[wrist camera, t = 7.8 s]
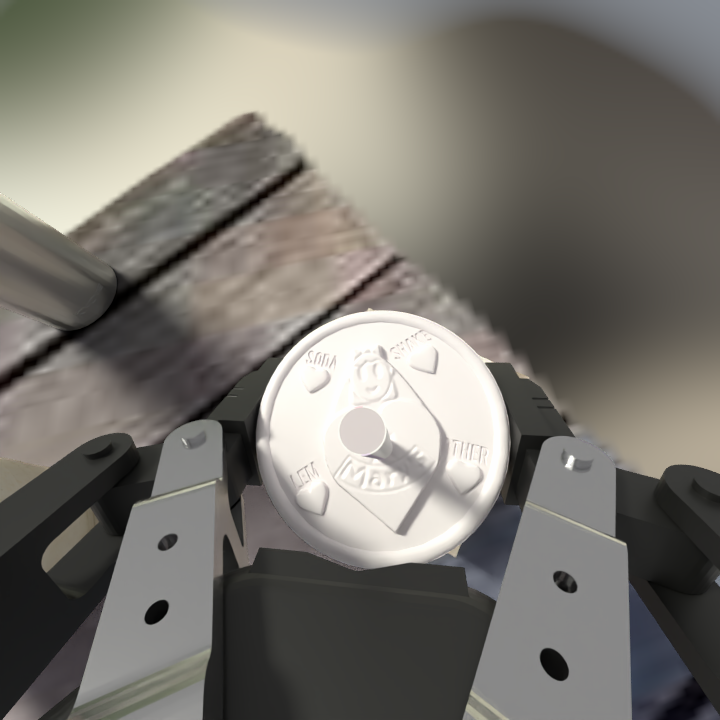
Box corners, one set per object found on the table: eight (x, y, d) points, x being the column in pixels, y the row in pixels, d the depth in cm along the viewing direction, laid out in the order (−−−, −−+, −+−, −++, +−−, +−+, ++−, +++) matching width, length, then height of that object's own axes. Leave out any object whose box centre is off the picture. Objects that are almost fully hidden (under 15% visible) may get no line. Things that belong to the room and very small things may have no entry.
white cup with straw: (336, 519, 16) (64, 772, 3) (322, 396, 18) (124, 220, 5) (463, 501, 16) (799, 696, 3) (435, 377, 18) (543, 131, 5)
